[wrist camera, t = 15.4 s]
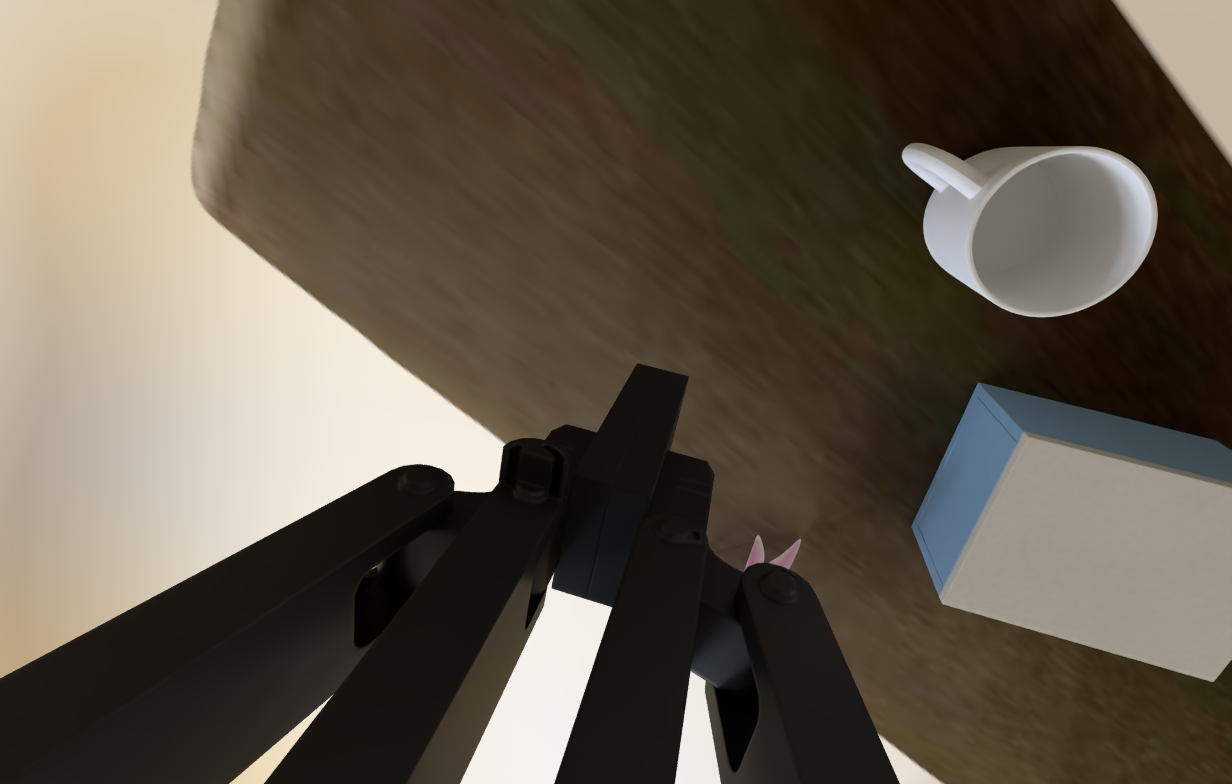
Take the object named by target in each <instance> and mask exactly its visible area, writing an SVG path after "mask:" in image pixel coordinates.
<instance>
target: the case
mask: <svg viewBox="0 0 1232 784" xmlns="http://www.w3.org/2000/svg"><path fill="white" fill-rule="evenodd" d="M1023 432H1028V433H1032V434H1036V435H1040V436H1044V437H1048V438H1052V439H1056V440H1060V441H1064V442H1068V443H1072V444H1076V445H1080V446H1084V447H1088V448H1092V449H1096V450H1100V451H1104V452H1108V453H1112V454H1116V455H1120V456H1124V457H1128V458H1132V459H1136V460H1140V461H1144V462H1148V463H1152V464H1156V465H1160V466H1164V467H1168V468H1172V469H1176V470H1180V471H1184V472H1188V473H1192V474H1196V475H1200V476H1204V477H1208V478H1212V479H1216V480H1220V481H1224V482H1228V483H1232V451H1231V450H1230V449H1228V448H1227V447H1225V446H1224V445H1222V444H1221V443H1219V442H1218V441H1216V440H1212V439H1208V438H1204V437H1200V436H1196V435H1192V434H1188V433H1184V432H1180V431H1176V430H1172V429H1167V428H1163V427H1159V426H1155V425H1151V424H1147V423H1143V422H1139V421H1135V420H1131V419H1127V418H1122V417H1118V416H1114V415H1110V414H1106V413H1102V412H1098V411H1094V410H1090V409H1086V408H1082V407H1077V406H1073V405H1069V404H1065V403H1061V402H1057V401H1053V400H1049V399H1045V398H1041V397H1037V396H1033V395H1028V394H1024V393H1020V392H1016V391H1012V390H1008V389H1004V388H1000V387H996V386H992V385H988V384H983V383H979V382H978V384H977V386H976V388H975V390H974V393H973V395H972V397H971V399H970V401H969V403H968V405H967V408H966V410H965V412H964V414H963V416H962V418H961V421H960V423H959V425H958V427H957V429H956V431H955V433H954V436H953V438H952V440H951V442H950V444H949V446H948V449H947V451H946V453H945V455H944V457H943V459H942V461H941V464H940V466H939V468H938V470H937V472H936V474H935V477H934V479H933V481H932V483H931V485H930V487H929V489H928V492H927V494H926V496H925V498H924V500H923V502H922V505H921V507H920V509H919V511H918V513H917V515H916V518H915V520H914V522H913V524H912V526H911V527H912V529H913V532H914V534H915V537H916V539H917V542H918V544H919V547H920V549H921V552H922V554H923V557H924V559H925V562H926V565H927V567H928V570H929V572H930V575H931V577H932V580H933V582H934V585H935V587H936V590H937V592H938V595H940V593H941V591H942V589H943V587H944V585H945V584H946V582H947V580H948V578H949V576H950V574H951V572H952V570H953V568H954V566H955V564H956V562H957V560H958V558H959V556H960V554H961V552H962V550H963V549H964V547H965V545H966V543H967V541H968V539H969V537H970V535H971V533H972V531H973V529H974V527H975V525H976V523H977V521H978V519H979V517H980V515H981V514H982V512H983V510H984V508H985V506H986V504H987V502H988V500H989V498H990V496H991V494H992V492H993V490H994V488H995V486H996V484H997V482H998V480H999V479H1000V477H1001V475H1002V473H1003V471H1004V469H1005V467H1006V465H1007V463H1008V461H1009V459H1010V457H1011V455H1012V453H1013V451H1014V449H1015V447H1016V445H1017V444H1018V442H1019V440H1020V438H1021V436H1022V434H1023Z"/></svg>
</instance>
